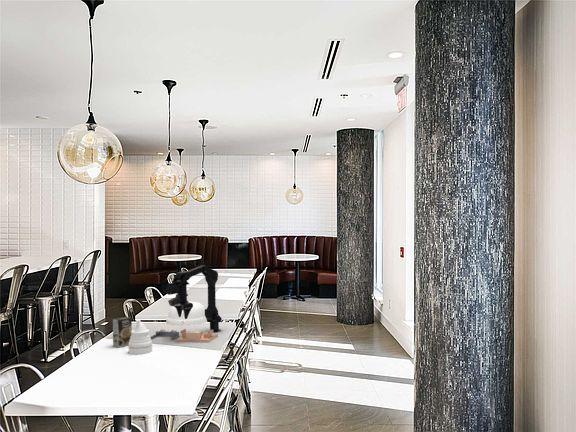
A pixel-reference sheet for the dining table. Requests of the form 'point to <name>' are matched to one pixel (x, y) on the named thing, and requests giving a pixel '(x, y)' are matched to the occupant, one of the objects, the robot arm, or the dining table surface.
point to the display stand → (196, 336)
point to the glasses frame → (166, 334)
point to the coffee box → (122, 331)
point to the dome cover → (193, 318)
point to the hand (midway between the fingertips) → (182, 318)
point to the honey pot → (140, 340)
